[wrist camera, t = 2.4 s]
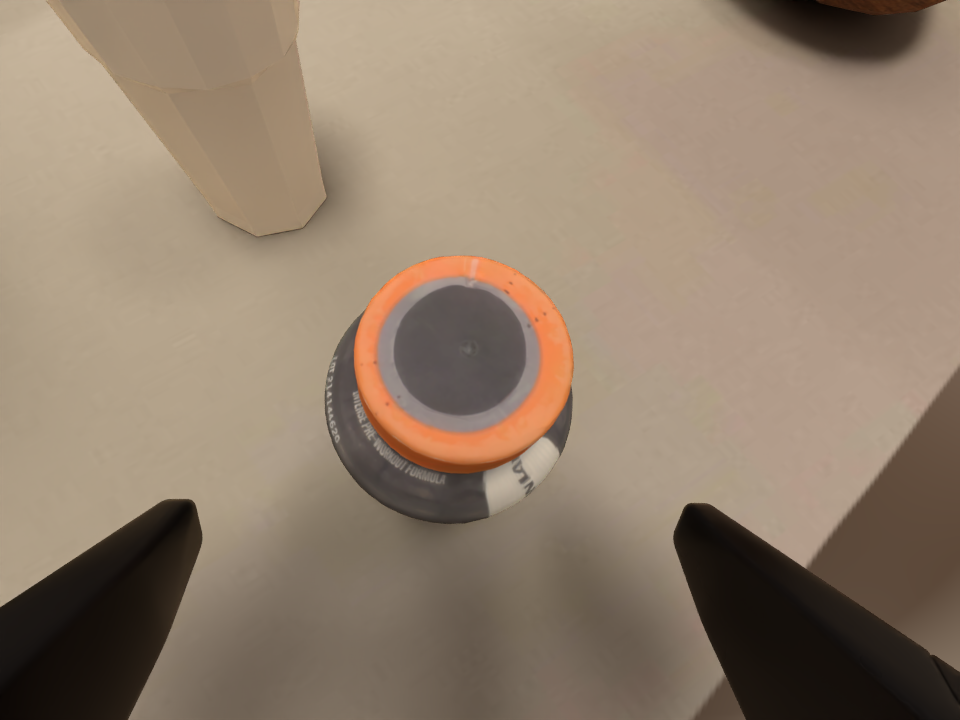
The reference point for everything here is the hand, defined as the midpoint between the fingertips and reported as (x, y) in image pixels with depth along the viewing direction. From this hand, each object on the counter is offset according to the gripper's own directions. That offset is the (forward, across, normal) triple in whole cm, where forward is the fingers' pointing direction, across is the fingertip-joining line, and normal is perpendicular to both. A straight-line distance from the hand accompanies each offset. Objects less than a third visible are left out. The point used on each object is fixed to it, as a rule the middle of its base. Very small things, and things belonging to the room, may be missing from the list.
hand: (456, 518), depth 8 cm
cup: (+17, +8, -3) cm, 19 cm away
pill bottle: (+9, 0, +5) cm, 10 cm away
